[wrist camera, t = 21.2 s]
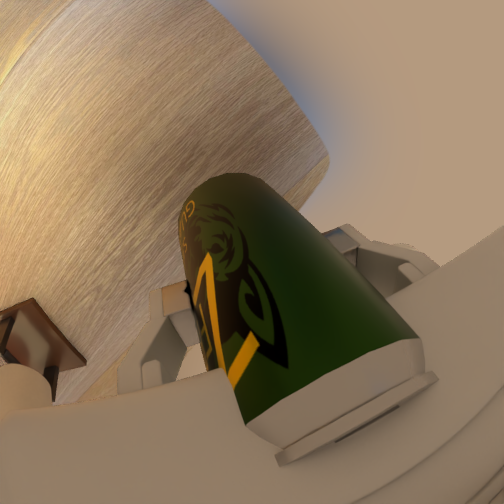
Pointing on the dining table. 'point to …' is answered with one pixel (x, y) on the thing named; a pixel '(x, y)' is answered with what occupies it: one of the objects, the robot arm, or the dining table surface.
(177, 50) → the dining table surface
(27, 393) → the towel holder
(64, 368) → the holder base
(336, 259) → the beer can
